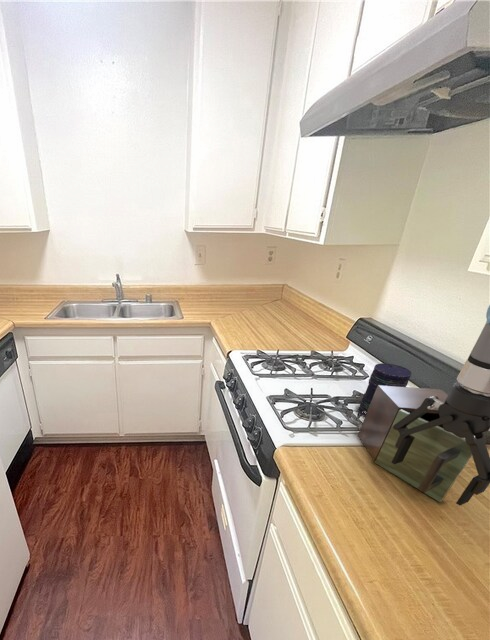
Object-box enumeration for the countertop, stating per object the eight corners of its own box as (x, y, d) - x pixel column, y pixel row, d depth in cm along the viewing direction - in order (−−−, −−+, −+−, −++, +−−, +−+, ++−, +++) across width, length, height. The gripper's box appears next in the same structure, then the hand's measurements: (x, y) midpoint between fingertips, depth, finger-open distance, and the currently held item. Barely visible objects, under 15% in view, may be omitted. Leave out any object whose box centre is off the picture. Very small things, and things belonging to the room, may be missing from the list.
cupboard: (438, 465, 88) (470, 412, 79) (374, 460, 89) (399, 407, 80) (414, 439, 98) (441, 389, 89) (357, 435, 99) (377, 385, 90)
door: (423, 512, 74) (459, 454, 66) (358, 469, 86) (382, 416, 77) (442, 501, 77) (479, 444, 69) (377, 461, 89) (401, 409, 80)
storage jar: (395, 423, 105) (416, 378, 97) (360, 418, 107) (378, 373, 99) (387, 408, 113) (407, 365, 105) (355, 403, 115) (371, 361, 107)
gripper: (588, 418, 52) (507, 517, 63) (424, 359, 70) (385, 444, 82) (563, 428, 49) (483, 529, 61) (400, 364, 68) (363, 451, 79)
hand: (427, 480), depth 71 cm, fingers open, 13 cm apart
